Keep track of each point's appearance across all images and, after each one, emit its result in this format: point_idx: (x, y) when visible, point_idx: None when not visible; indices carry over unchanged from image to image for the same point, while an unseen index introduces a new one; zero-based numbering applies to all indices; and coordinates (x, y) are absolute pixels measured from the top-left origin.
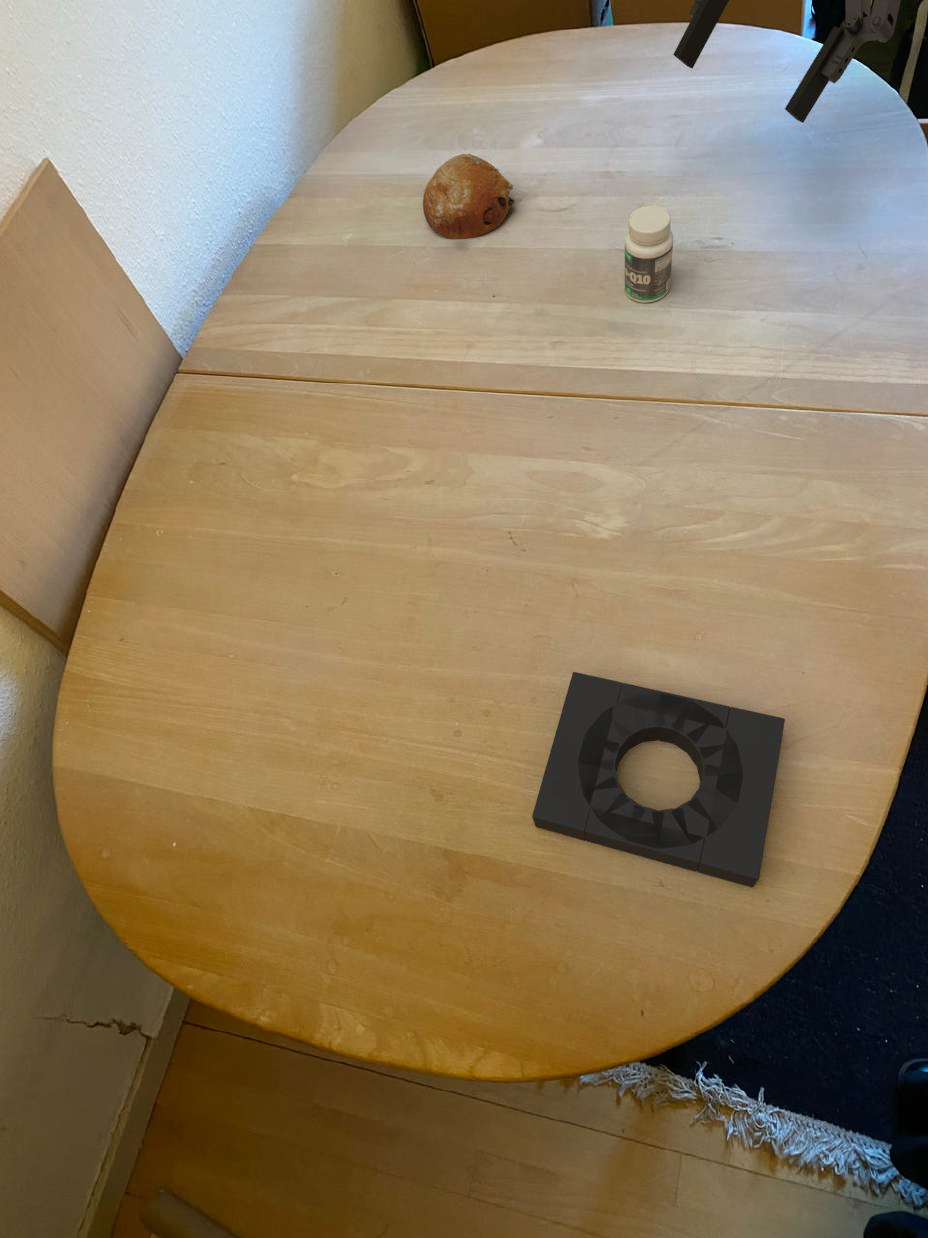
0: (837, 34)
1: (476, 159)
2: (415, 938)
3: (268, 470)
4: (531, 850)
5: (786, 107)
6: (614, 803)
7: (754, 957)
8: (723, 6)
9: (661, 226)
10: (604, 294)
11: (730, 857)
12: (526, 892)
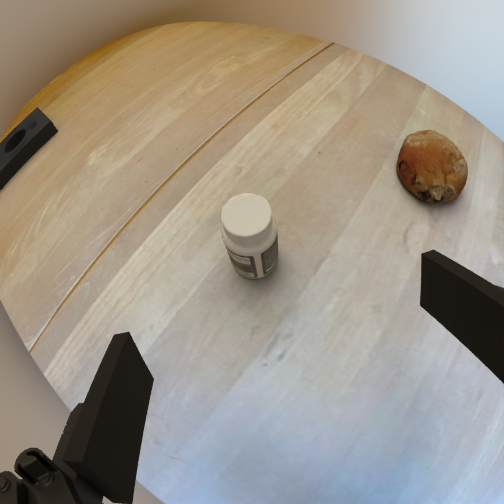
0: (67, 448)
1: (457, 167)
2: (53, 90)
3: (245, 51)
4: None
5: (125, 333)
6: (20, 127)
7: None
8: (489, 361)
9: (224, 218)
10: None
11: None
12: None
